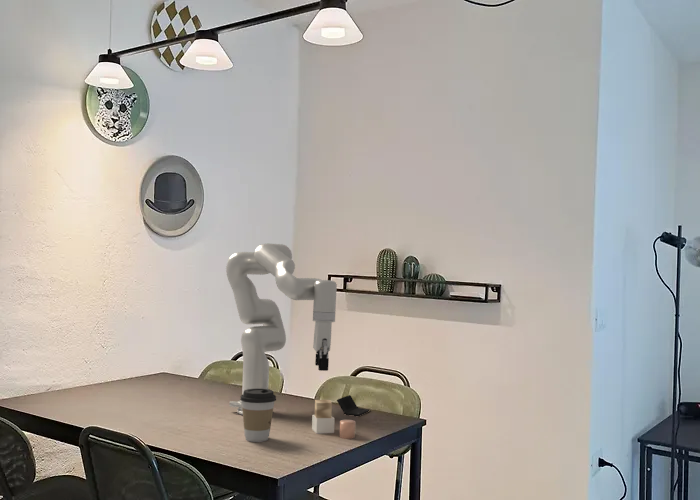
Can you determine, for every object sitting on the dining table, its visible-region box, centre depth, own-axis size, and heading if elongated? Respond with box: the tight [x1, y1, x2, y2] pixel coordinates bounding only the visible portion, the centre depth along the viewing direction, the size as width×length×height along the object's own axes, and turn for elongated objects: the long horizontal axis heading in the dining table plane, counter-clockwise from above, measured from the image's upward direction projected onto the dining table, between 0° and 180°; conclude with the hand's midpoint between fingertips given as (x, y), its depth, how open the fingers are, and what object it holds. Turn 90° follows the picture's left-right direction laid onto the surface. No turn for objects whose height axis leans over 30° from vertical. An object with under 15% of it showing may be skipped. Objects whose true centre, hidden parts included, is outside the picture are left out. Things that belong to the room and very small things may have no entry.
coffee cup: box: [239, 388, 277, 443], centre depth 214 cm, size 11×11×15 cm
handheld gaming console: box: [336, 394, 370, 417], centre depth 258 cm, size 12×7×10 cm
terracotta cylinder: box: [339, 419, 356, 440], centre depth 221 cm, size 5×5×5 cm
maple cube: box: [314, 399, 333, 418], centre depth 228 cm, size 5×5×5 cm
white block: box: [311, 414, 335, 435], centre depth 227 cm, size 6×6×5 cm
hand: (321, 367), depth 229 cm, fingers open, 9 cm apart
